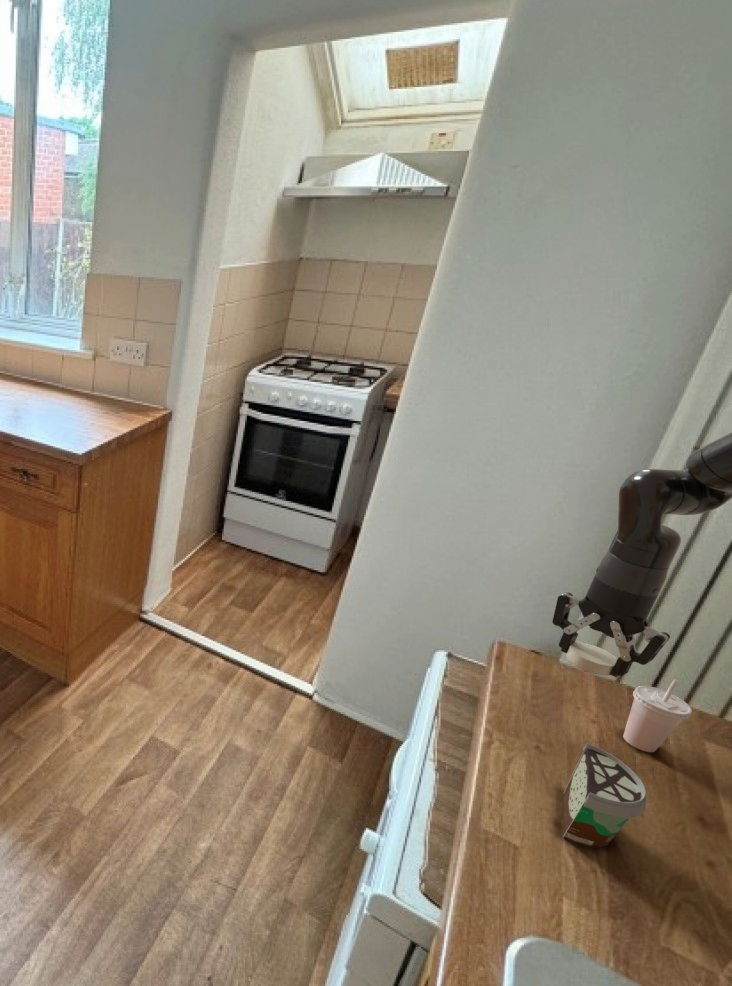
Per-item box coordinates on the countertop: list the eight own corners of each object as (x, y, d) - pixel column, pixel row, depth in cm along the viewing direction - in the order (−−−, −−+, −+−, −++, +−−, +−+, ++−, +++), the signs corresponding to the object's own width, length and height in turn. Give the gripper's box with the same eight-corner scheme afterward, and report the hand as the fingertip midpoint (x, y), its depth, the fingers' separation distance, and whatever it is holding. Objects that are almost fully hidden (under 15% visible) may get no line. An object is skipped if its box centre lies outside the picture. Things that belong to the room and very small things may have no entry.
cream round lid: (619, 671, 104) (625, 659, 103) (602, 682, 102) (608, 669, 101) (575, 650, 110) (580, 638, 109) (557, 659, 107) (563, 647, 106)
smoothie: (616, 748, 99) (652, 681, 94) (607, 723, 104) (641, 658, 99) (671, 767, 95) (712, 699, 90) (659, 740, 100) (697, 674, 95)
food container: (624, 878, 79) (656, 825, 75) (561, 846, 83) (589, 795, 79) (618, 815, 88) (647, 764, 84) (562, 789, 91) (587, 740, 88)
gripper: (698, 599, 95) (655, 682, 101) (583, 556, 107) (550, 633, 113) (678, 610, 92) (634, 696, 98) (562, 565, 104) (529, 644, 110)
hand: (589, 662), depth 105 cm, fingers closed on cream round lid, 6 cm apart
